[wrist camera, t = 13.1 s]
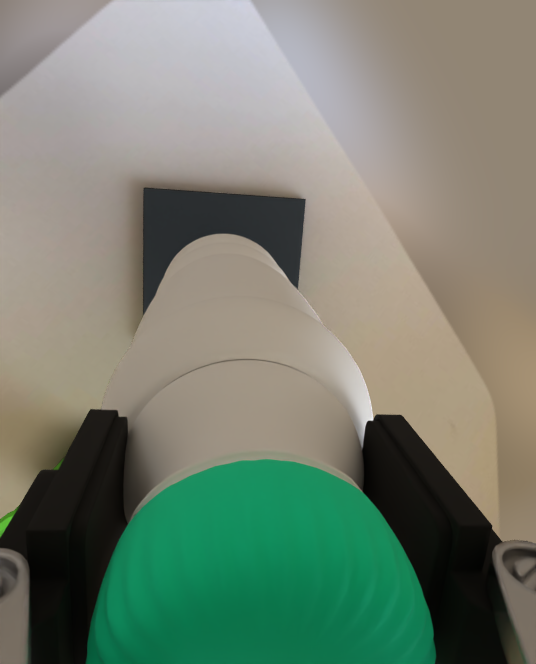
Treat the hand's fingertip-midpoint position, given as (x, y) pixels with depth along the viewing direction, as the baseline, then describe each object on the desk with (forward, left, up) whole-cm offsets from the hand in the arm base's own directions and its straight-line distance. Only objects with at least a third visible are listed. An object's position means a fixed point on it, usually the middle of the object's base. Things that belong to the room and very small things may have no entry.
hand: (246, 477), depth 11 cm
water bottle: (0, 0, -20) cm, 20 cm away
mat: (0, 0, -26) cm, 26 cm away
